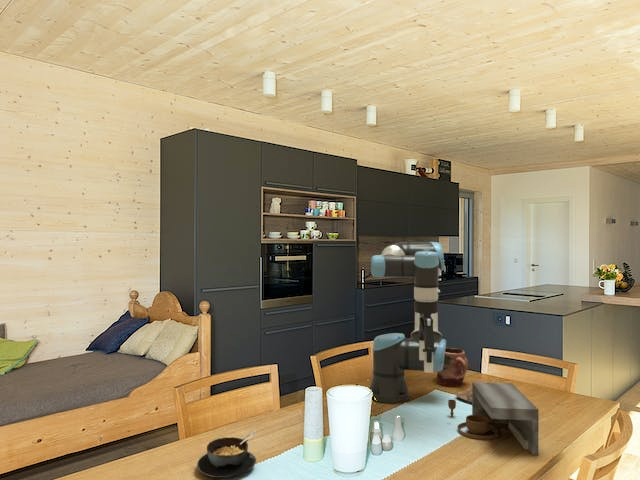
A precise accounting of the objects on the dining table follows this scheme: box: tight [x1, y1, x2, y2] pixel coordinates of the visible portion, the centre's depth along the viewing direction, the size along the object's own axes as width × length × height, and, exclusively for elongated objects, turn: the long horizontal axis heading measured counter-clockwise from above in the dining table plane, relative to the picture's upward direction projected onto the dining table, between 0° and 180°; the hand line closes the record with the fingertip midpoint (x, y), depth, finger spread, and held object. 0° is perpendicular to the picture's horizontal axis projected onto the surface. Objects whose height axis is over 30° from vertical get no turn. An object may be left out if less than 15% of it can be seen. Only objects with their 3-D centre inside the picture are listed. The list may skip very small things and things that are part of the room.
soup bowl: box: [196, 429, 259, 478], centre depth 130 cm, size 15×16×7 cm
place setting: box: [447, 399, 507, 441], centre depth 158 cm, size 18×20×6 cm
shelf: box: [471, 381, 540, 457], centre depth 150 cm, size 12×26×12 cm, turn 174°
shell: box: [455, 388, 472, 405], centre depth 184 cm, size 12×13×4 cm
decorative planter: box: [436, 347, 470, 387], centre depth 205 cm, size 20×12×14 cm, turn 20°
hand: (425, 366), depth 162 cm, fingers open, 13 cm apart
